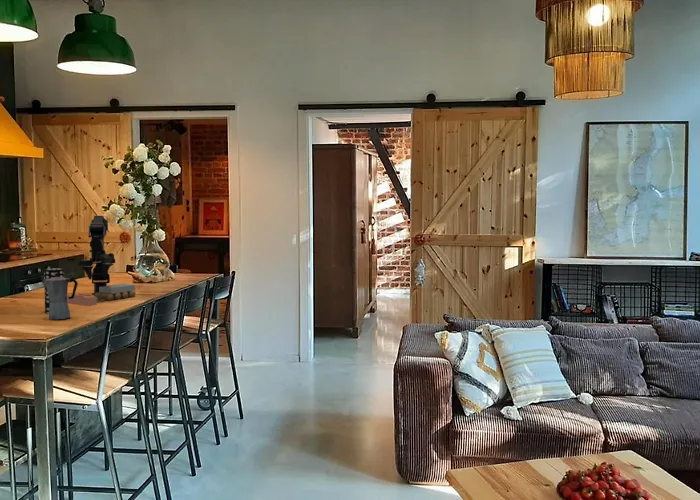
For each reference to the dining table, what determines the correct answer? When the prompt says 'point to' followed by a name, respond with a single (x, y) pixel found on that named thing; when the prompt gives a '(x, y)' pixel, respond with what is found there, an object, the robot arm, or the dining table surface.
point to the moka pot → (59, 296)
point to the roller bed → (114, 296)
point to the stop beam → (82, 299)
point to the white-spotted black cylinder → (47, 275)
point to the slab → (116, 288)
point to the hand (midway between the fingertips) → (97, 278)
